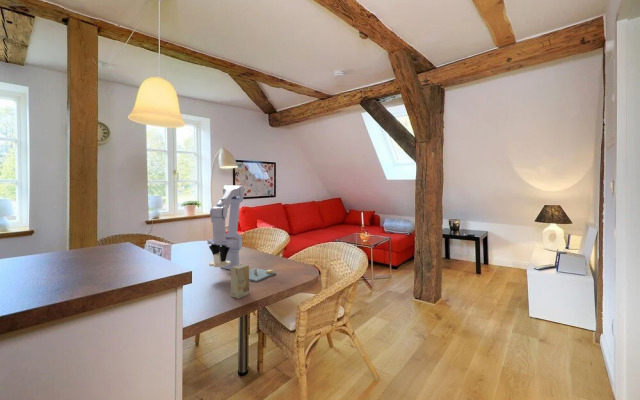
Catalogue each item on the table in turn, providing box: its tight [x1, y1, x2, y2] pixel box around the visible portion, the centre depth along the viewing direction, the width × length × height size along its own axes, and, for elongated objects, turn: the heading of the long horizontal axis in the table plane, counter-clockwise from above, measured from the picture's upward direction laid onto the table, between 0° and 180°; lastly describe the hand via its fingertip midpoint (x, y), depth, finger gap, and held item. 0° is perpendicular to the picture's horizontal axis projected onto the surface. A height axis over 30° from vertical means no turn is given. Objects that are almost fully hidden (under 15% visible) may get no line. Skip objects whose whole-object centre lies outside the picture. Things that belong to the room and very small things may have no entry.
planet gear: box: [208, 252, 231, 268], centre depth 143 cm, size 9×9×5 cm
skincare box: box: [230, 263, 250, 299], centre depth 123 cm, size 6×4×12 cm
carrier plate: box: [249, 267, 277, 283], centre depth 149 cm, size 14×14×4 cm
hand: (220, 260), depth 143 cm, fingers closed on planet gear, 4 cm apart
